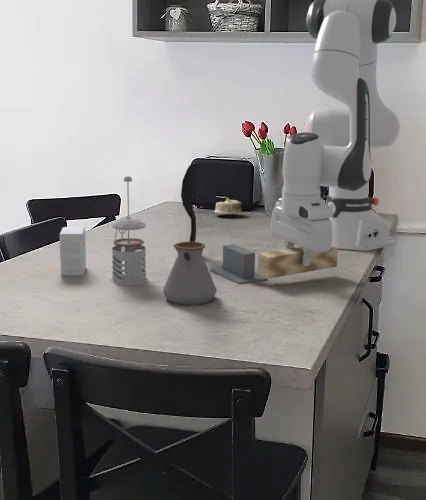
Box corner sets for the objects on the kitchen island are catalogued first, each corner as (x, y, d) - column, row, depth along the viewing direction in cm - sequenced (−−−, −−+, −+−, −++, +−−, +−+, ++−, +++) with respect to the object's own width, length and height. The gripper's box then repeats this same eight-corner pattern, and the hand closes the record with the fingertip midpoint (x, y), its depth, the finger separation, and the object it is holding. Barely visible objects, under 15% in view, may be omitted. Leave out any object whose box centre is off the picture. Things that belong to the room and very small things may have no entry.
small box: (63, 267, 188) (62, 226, 186) (86, 267, 189) (85, 226, 186) (60, 276, 181) (58, 233, 178) (83, 276, 181) (82, 233, 179)
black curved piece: (194, 258, 199) (194, 164, 193) (180, 257, 200) (180, 163, 194) (202, 251, 207) (202, 160, 201) (189, 250, 207) (189, 160, 201)
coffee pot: (165, 294, 168) (165, 228, 164) (217, 295, 167) (217, 229, 164) (155, 326, 147) (155, 252, 143) (214, 328, 147) (215, 253, 143)
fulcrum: (237, 268, 190) (238, 241, 188) (267, 282, 178) (268, 253, 176) (210, 272, 186) (210, 244, 184) (238, 286, 174) (239, 257, 172)
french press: (116, 289, 171) (114, 180, 165) (100, 276, 181) (97, 173, 175) (156, 284, 175) (156, 177, 169) (138, 272, 185) (136, 171, 179)
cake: (247, 211, 265) (248, 196, 264) (233, 216, 257) (233, 200, 256) (223, 208, 270) (223, 193, 269) (208, 212, 262) (208, 197, 261)
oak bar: (326, 262, 184) (327, 242, 182) (336, 266, 180) (337, 246, 179) (258, 274, 174) (258, 253, 173) (267, 278, 171) (268, 257, 169)
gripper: (265, 197, 180) (263, 253, 184) (314, 214, 163) (312, 275, 167) (287, 195, 183) (285, 250, 187) (338, 211, 166) (335, 271, 170)
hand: (298, 262), depth 177 cm, fingers closed on oak bar, 4 cm apart
